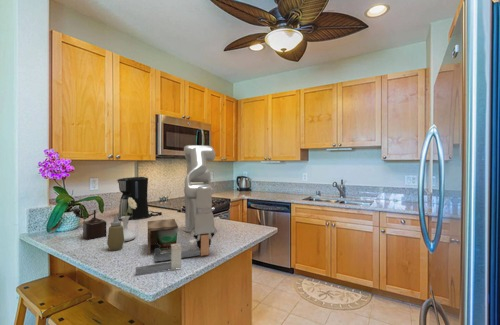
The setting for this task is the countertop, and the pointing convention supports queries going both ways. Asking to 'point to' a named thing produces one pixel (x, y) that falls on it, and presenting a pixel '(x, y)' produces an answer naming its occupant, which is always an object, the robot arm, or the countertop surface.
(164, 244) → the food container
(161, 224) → the walnut cubby
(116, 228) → the squeeze bottle
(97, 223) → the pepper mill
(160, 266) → the l-shaped tool
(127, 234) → the flower in vase
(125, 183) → the coffee maker
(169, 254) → the crook tool
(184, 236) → the countertop surface
